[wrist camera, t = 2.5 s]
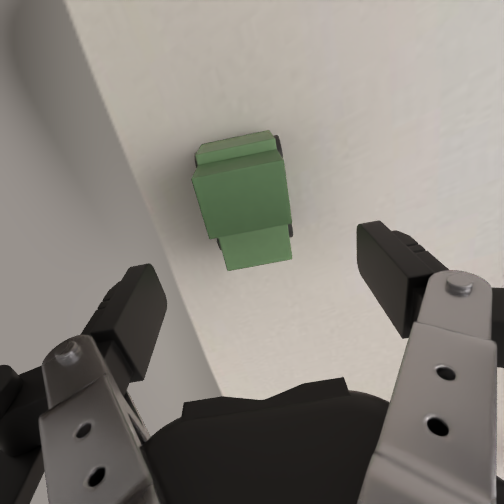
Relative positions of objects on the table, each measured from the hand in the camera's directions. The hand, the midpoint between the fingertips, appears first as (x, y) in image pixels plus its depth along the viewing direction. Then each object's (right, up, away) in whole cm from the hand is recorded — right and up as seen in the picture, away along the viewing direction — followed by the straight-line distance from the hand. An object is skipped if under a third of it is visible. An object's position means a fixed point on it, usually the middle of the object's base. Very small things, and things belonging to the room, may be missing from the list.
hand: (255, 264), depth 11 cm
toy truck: (-1, +4, +7) cm, 9 cm away
